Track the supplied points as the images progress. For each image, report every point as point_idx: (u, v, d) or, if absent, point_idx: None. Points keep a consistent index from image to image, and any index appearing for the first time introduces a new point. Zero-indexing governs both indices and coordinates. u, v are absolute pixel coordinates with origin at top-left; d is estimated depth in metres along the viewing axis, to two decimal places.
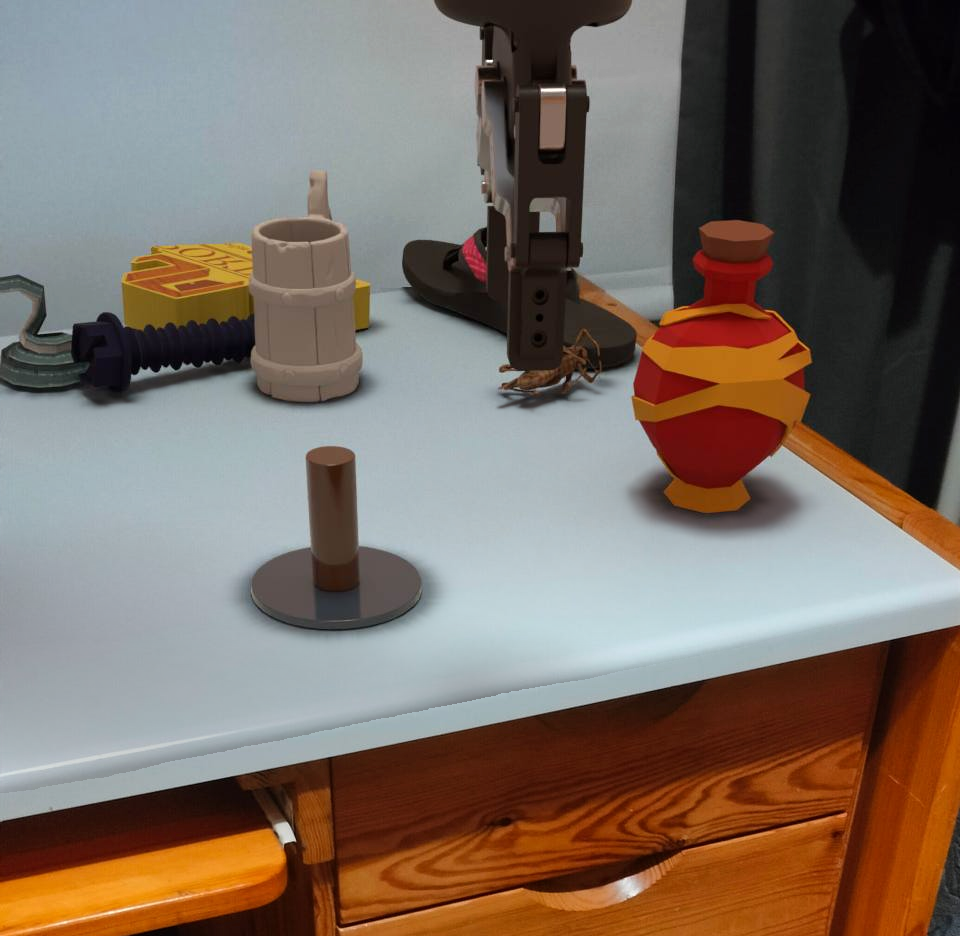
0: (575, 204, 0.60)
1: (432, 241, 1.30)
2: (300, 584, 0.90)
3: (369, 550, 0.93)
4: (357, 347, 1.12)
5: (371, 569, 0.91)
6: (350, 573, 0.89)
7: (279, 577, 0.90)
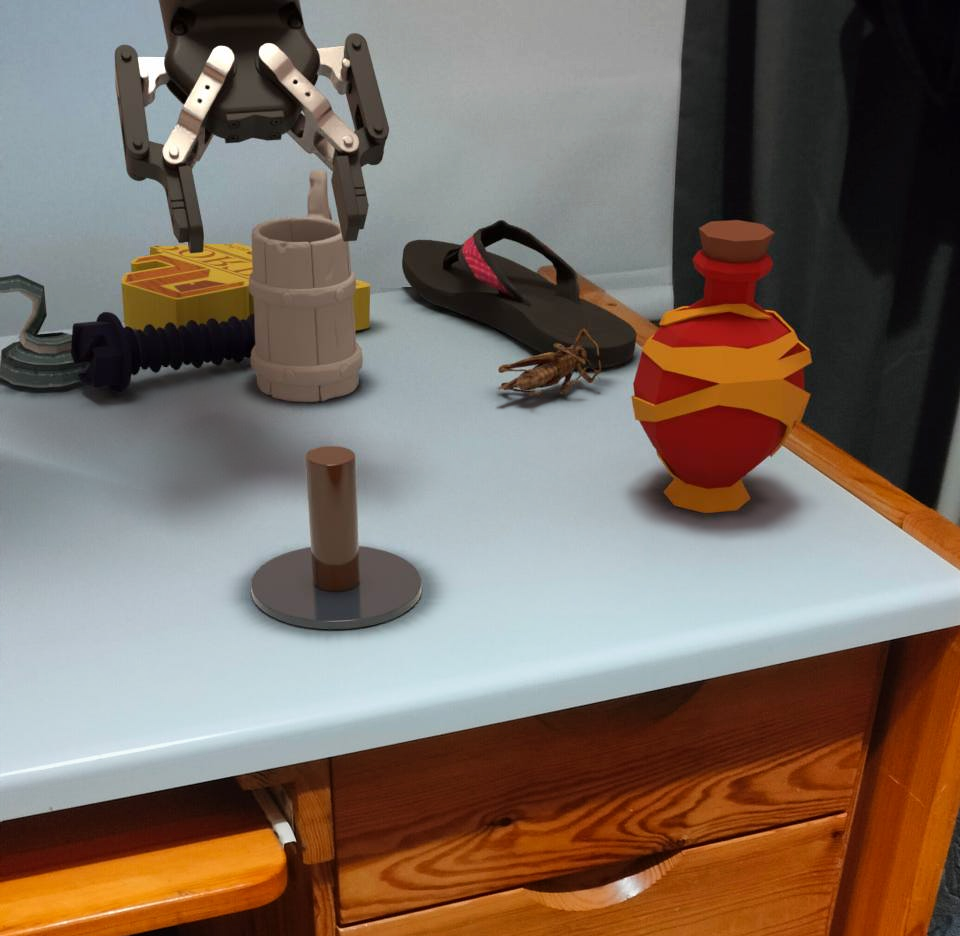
0: None
1: (432, 241, 1.30)
2: (300, 584, 0.90)
3: (369, 550, 0.93)
4: (357, 347, 1.12)
5: (371, 569, 0.91)
6: (350, 573, 0.89)
7: (279, 577, 0.90)
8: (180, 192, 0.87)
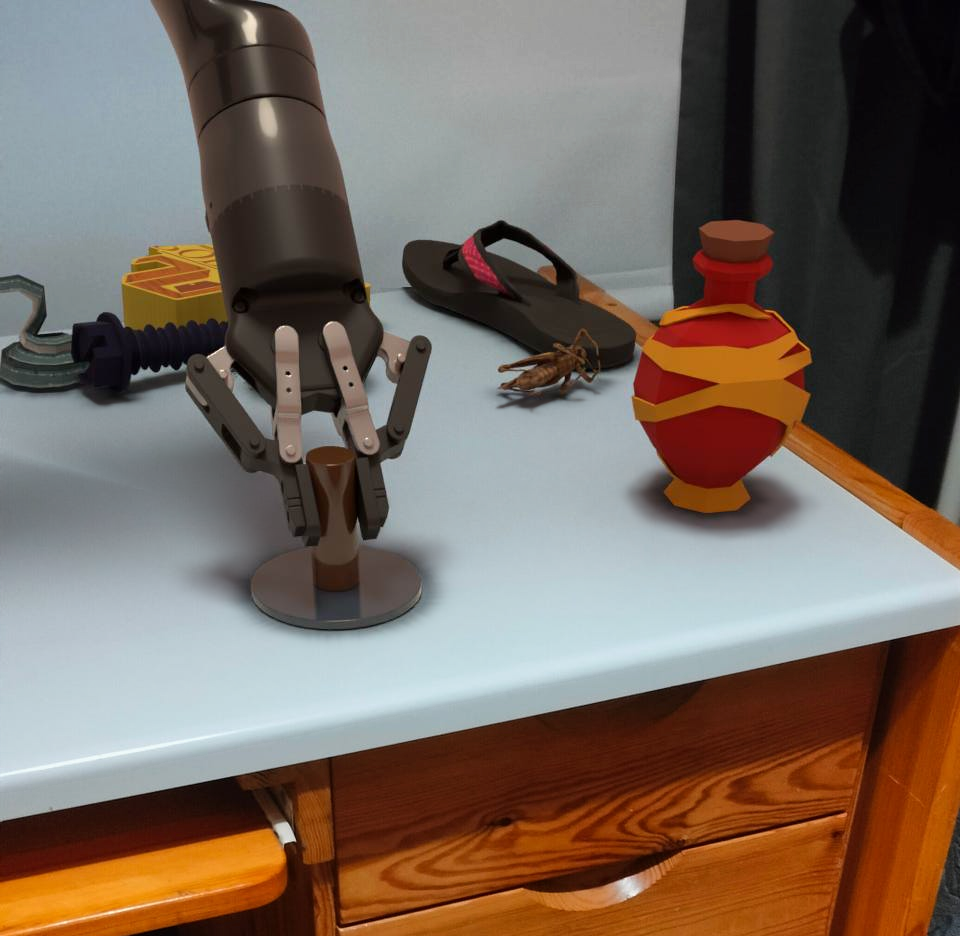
0: None
1: (432, 241, 1.30)
2: (300, 584, 0.90)
3: (369, 550, 0.93)
4: None
5: (371, 569, 0.91)
6: (350, 573, 0.89)
7: (279, 577, 0.90)
8: (296, 490, 0.85)
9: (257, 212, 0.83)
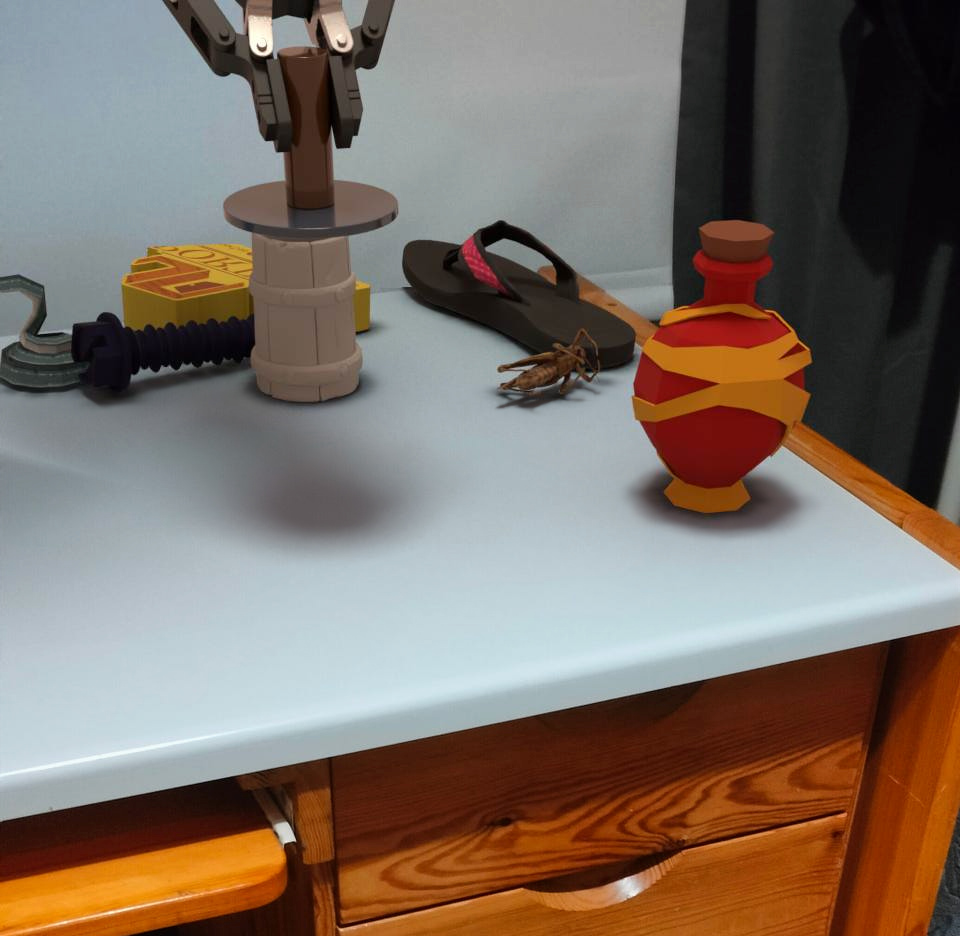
0: None
1: (432, 241, 1.30)
2: (273, 204, 0.87)
3: (346, 182, 0.91)
4: (357, 347, 1.12)
5: (347, 195, 0.89)
6: (324, 188, 0.86)
7: (252, 199, 0.88)
8: (267, 87, 0.83)
9: None
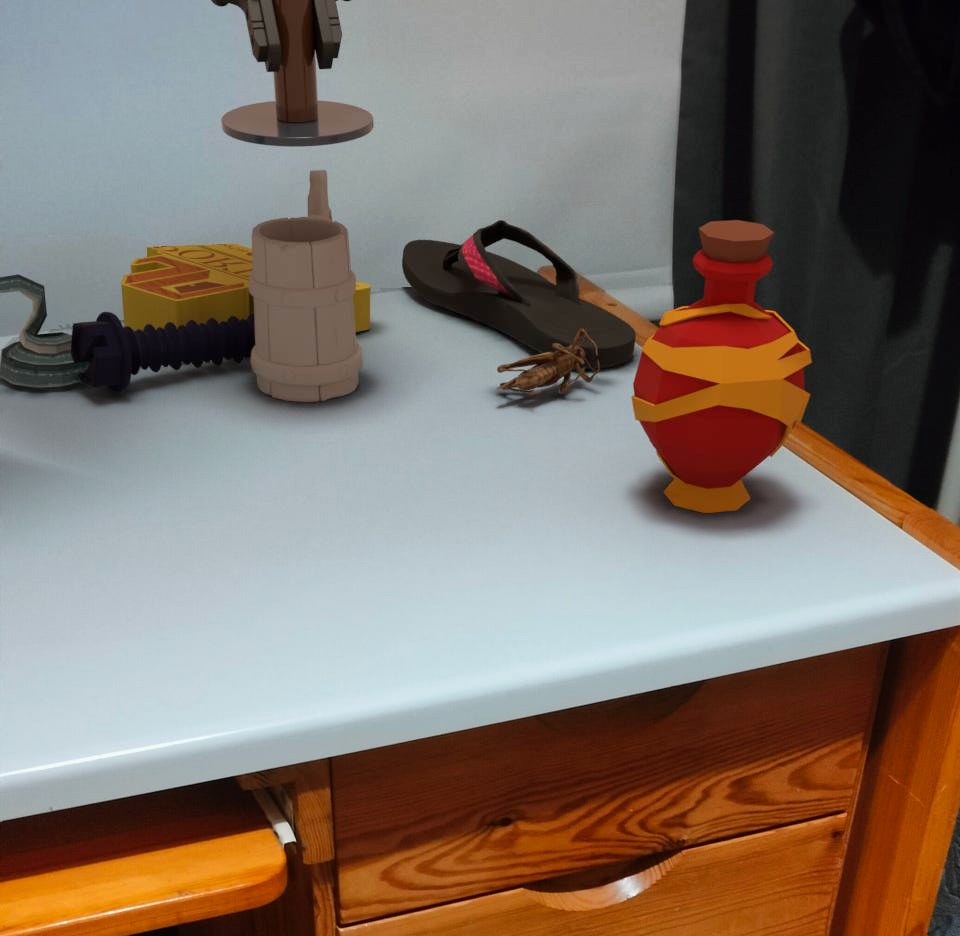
0: None
1: (432, 241, 1.30)
2: (265, 119, 1.01)
3: (328, 102, 1.04)
4: (357, 347, 1.12)
5: (329, 112, 1.02)
6: (309, 104, 1.00)
7: (246, 115, 1.01)
8: (260, 14, 0.96)
9: None
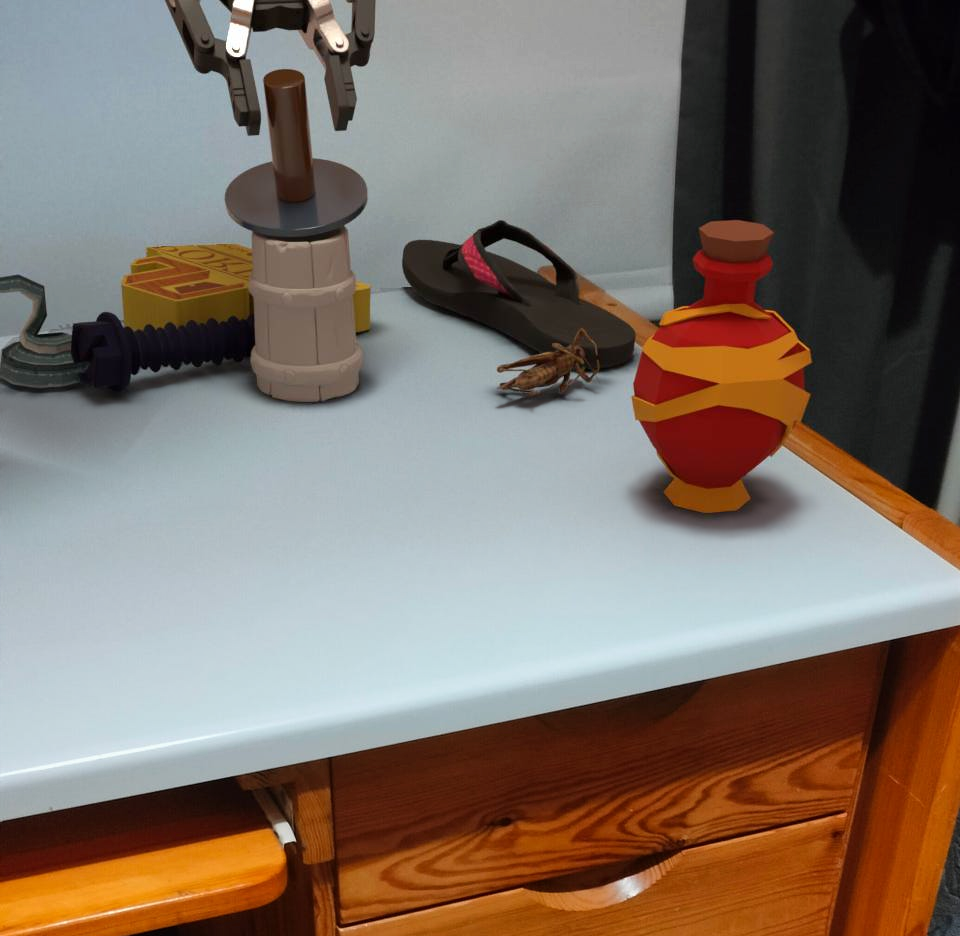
0: None
1: (432, 241, 1.30)
2: (265, 196, 1.07)
3: (324, 162, 1.09)
4: (357, 347, 1.12)
5: (325, 180, 1.08)
6: (306, 185, 1.06)
7: (247, 190, 1.07)
8: (241, 82, 1.02)
9: None
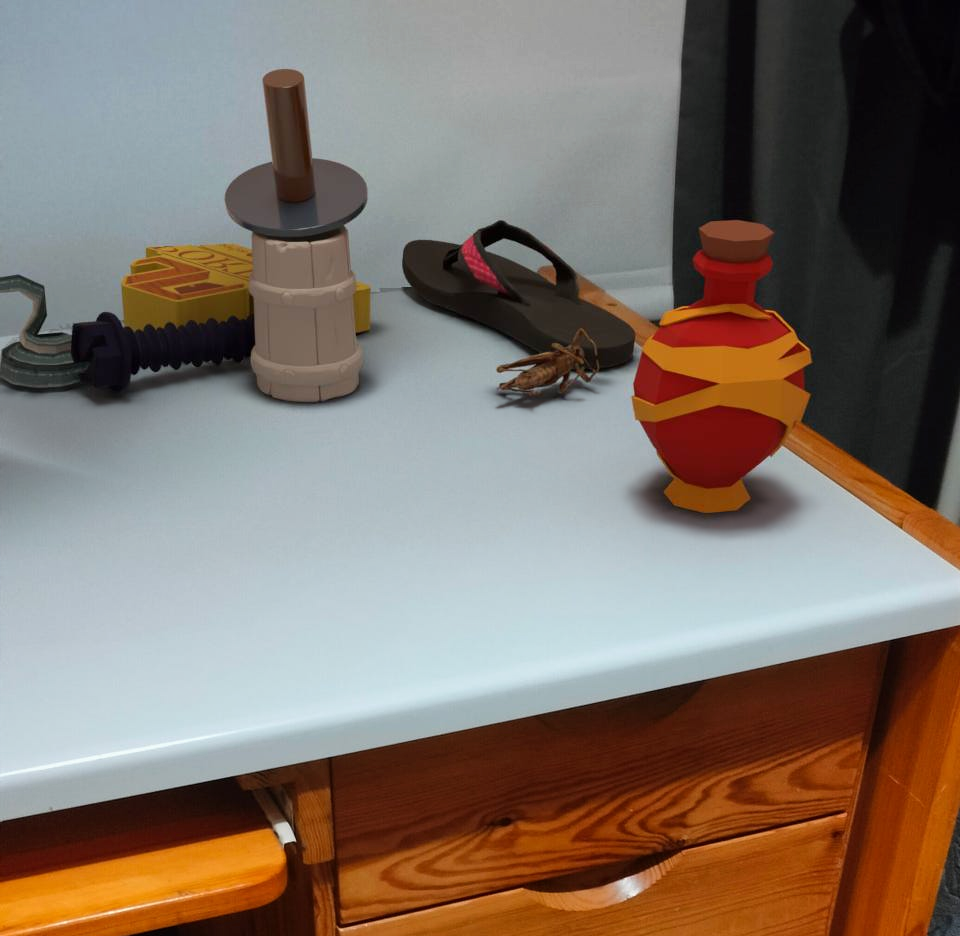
0: None
1: (432, 241, 1.30)
2: (265, 196, 1.07)
3: (324, 162, 1.09)
4: (357, 347, 1.12)
5: (325, 180, 1.08)
6: (306, 185, 1.06)
7: (248, 190, 1.07)
8: None
9: None
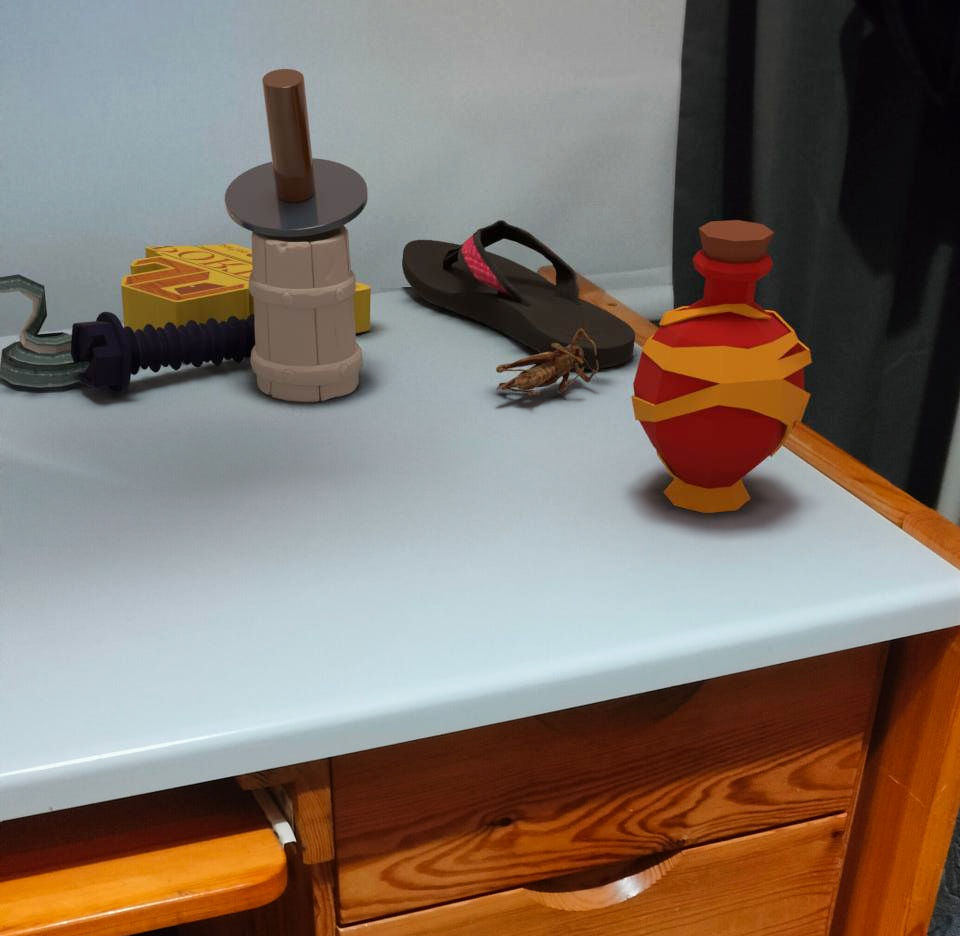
0: None
1: (432, 241, 1.30)
2: (265, 196, 1.07)
3: (324, 162, 1.09)
4: (357, 347, 1.12)
5: (325, 180, 1.08)
6: (306, 185, 1.06)
7: (248, 190, 1.07)
8: None
9: None
